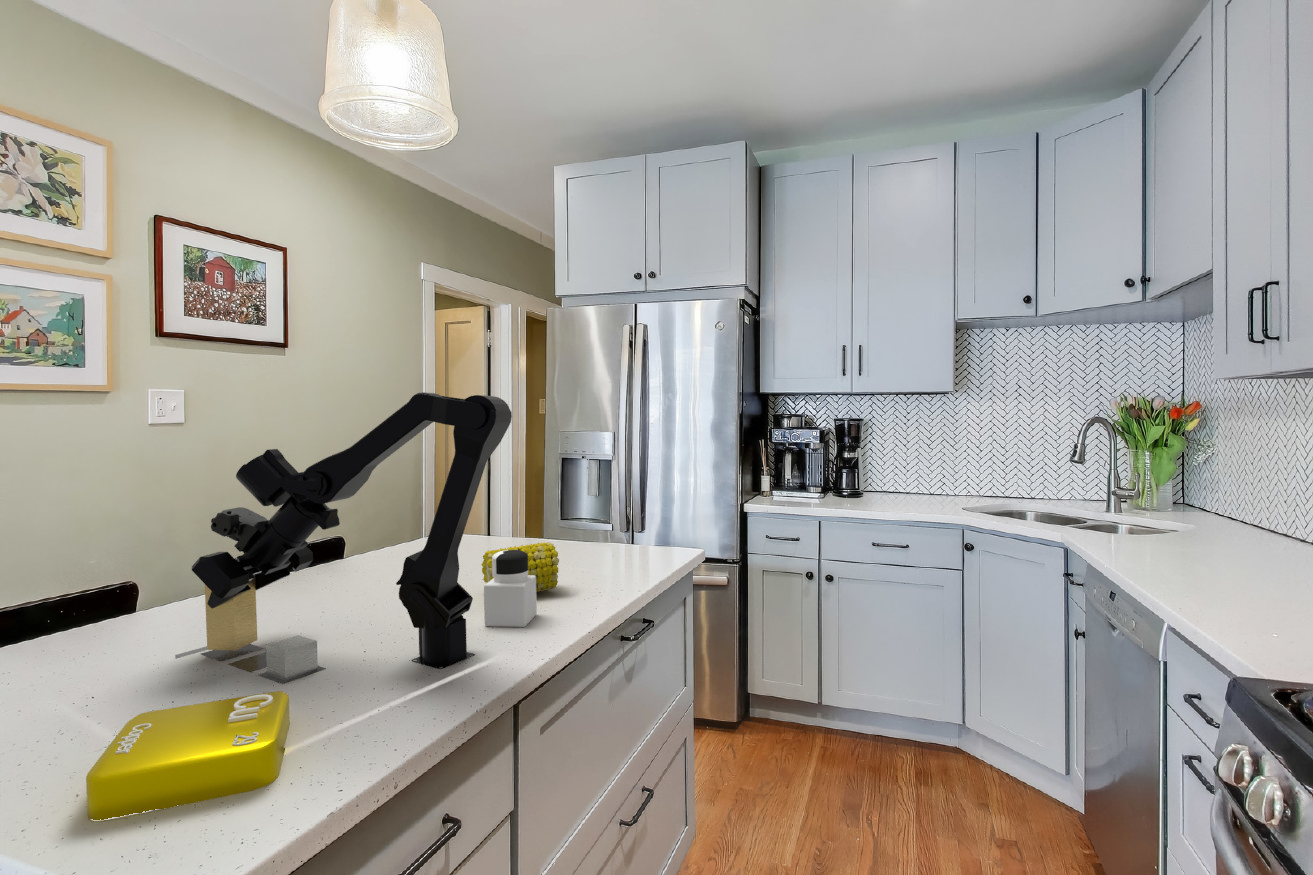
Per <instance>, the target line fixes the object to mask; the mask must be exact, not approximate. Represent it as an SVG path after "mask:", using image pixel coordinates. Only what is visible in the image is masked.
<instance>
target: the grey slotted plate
mask: <svg viewBox="0 0 1313 875" xmlns="http://www.w3.org/2000/svg"><path fill="white" fill-rule="evenodd" d="M263 649H264V647H261V646H257V645H254V644H252V643H250V644H248V645H246V646H244V647H242V648H240V649H238V650H236V651H232V650H207V645H206V646H204V647H199V648H195V649H192V650H189V651H185V652H181V653H177V654H174V656H175V657H174V658H175V659H180V658H184V657H188V656H190V655H194V654H197V653H200V655H202V656H205V657H207V658H210V659H212V660H216V661H218V662H224V661H226V660H230V659H233V658H238V657H241V656H244V655H247V654H250V653H254V652H257V651H260V650H263ZM228 665H230V666H232V667H235V668H237V669H240V670H243V671H246V672H249V673H252V672H255V671H259V670H262V669H265V668H267V664H266V651H265V652H262V653H259V654H255V655H251V656H249V657H246V658H241V659H239V660H236V661H233V662H230V663H228ZM326 669H327V668H326V667H322V666H320V665H318V669H317V670H314V671H311V672H308V673H306V674H303V675H300V676H297V677H294V678H291V679H288V680H286V681H285V680H282V679H279V678H277V677H274V676H271V675H268V674H267V671H266V672H262V673H259V674H258V676H259V677H262V678H265V679H268V680H271V681H274V682H276V683H278V684H280V685H281V684H282V685H284V684H287V683H290V682H292V681H295V680H299V679H302V678H305V677H307V676H309V675H312V674H315V673H318V672H321V671H324V670H326Z"/></svg>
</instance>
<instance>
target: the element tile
mask: <svg viewBox="0 0 1313 875" xmlns="http://www.w3.org/2000/svg"><path fill="white" fill-rule="evenodd" d="M290 718H291V717H290V697H289V694H288V693H287V692H284V691H281V690H278V691H272V692H271V691H270V692H264V693H263V692H262V693H260V694H253V695H246V696H245V695H244V696H240V697H234V698H233V697H232V698H226V699H221V700H215V701H214V700H213V701H209V702H207V701H206V702H202V703H196V704H195V703H194V704H189V705H182V706H176V707H172V708H171V707H170V708H169V707H168V708H163V709H159V710H152V711H146V712H141V713H139V714H137V715H136V716H134V717H133V718H131V719H130V720H129V721H127V722H126V723H125V724H124V726H123V727H122V728H121V730H120V731H119V732H118V733H117V735H116V736H115V737H114V739H113V740H112V741H111V742H110V744H108V746H107V747H106V749H105V750H104V752H103V753H102V754H101V755H100V757H98V759H97V760H96V761H95V763H94V764H93V766H92V767H91V769H90V770H89V771H88V772H87V775H86V778H85V783H86V784H85V785H86V786H85V787H86V806H87V807H86V808H87V811H86V812H87V818H88V817H89V819H93V820H100V819H101V820H104V819H108V818H112V817H120V816H124V815H129V814H133V813H142V812H143V811H145V812H146V811H149V810H155V809H162V810H165V809H164V808H167V809H171V808H170V807H172V808H175V807H174V806H177V805H181V806H185V805H184V804H186V805H190V804H194V803H199V802H200V801H201V802H204V800H205V801H210V800H214V799H219V798H224V797H228V796H235V795H238V794H242V793H247V792H252V791H256V790H259V789H261V788H264V787H267V786H269V785H271V784H272V783H274V781H276V780H277V779H278V777H279V776H280V773H281V770H282V769H281V768H282V765H283V760H284V755H285V753H286V752H285V751H286V747H285V744H286V740H287V737H288V732H289V728H290V724H291V720H290ZM198 801H199V802H198ZM177 807H178V806H177ZM89 819H88V820H89Z"/></svg>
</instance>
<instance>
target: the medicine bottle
mask: <svg viewBox="0 0 1313 875" xmlns="http://www.w3.org/2000/svg"><path fill="white" fill-rule="evenodd" d="M492 576H493V577H494V578H493V579H492V580H491V581H489V582H488V583H486V582H485V584H484V585H483V606H484V607H483V609H484V610H483V612H484V616H483V617H484V626H485V627H496V628H497V627H505V628H508V627H509V628H511V627H512V628H525V627H526V626H527V625H528V624H530V622H531V621H533V619H534V617H535V616H536V615H537V614H538V609H537V608H538V607H537V605H538V604H537V591H536V576H535V575H528V554H527V553H526V552H523V551H521V550H504V551H500V552H497V553H496V554H494V555H493V556H492Z"/></svg>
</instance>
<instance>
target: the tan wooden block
mask: <svg viewBox="0 0 1313 875" xmlns="http://www.w3.org/2000/svg"><path fill="white" fill-rule="evenodd" d="M253 576H254V577H253V579H252V580H250V581H249V584H248V586H249V587H250V588H251V590H249V591H247V592H245V593H243V594H241V595H239V596H237V597H235V598H233V599H231V600H229V601H227V602H225V603H223V604H221V605H219V606H217V607H215V608H211V607H210V606H209V605H208V604H207V603H208V600H209V597H210V594H211V592H212V591H211V590H210V589H209V588H208V587H207V586H206V585H205V584H204V593H205V594H204V600H205V601H204V602H205V603H204V604H205V624H206V625H205V626H206V646H207V650H206V651H212V650H232V651H236V650H238V649H240V648H242V647H244V646H246V645H248V644H252V643H254V642H257V641H258V618H257V617H258V616H257V593H256V592H257V590H256V586H255V575H253Z"/></svg>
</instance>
